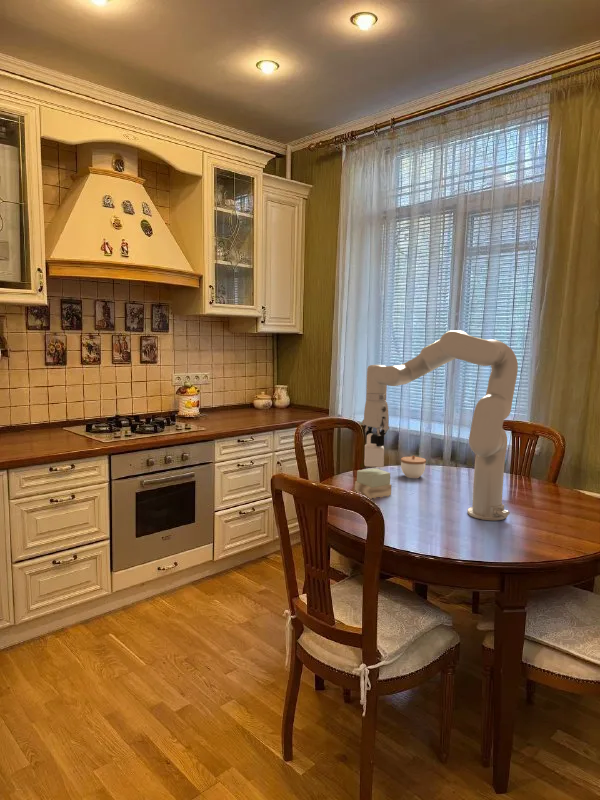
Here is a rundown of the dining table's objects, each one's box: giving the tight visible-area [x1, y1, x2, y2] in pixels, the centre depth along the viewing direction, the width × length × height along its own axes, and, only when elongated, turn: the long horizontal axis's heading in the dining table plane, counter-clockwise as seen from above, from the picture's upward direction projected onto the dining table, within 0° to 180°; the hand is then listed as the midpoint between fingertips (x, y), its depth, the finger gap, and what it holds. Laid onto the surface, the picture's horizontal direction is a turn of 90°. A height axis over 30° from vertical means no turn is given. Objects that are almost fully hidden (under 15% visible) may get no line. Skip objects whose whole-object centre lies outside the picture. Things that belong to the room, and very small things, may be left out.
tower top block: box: [356, 467, 391, 488], centre depth 214 cm, size 9×9×4 cm
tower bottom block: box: [354, 480, 392, 500], centre depth 214 cm, size 10×10×4 cm
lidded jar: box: [400, 455, 427, 479], centre depth 242 cm, size 11×11×9 cm
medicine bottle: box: [363, 432, 385, 468], centre depth 212 cm, size 7×7×12 cm
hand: (374, 443), depth 212 cm, fingers closed on medicine bottle, 6 cm apart
